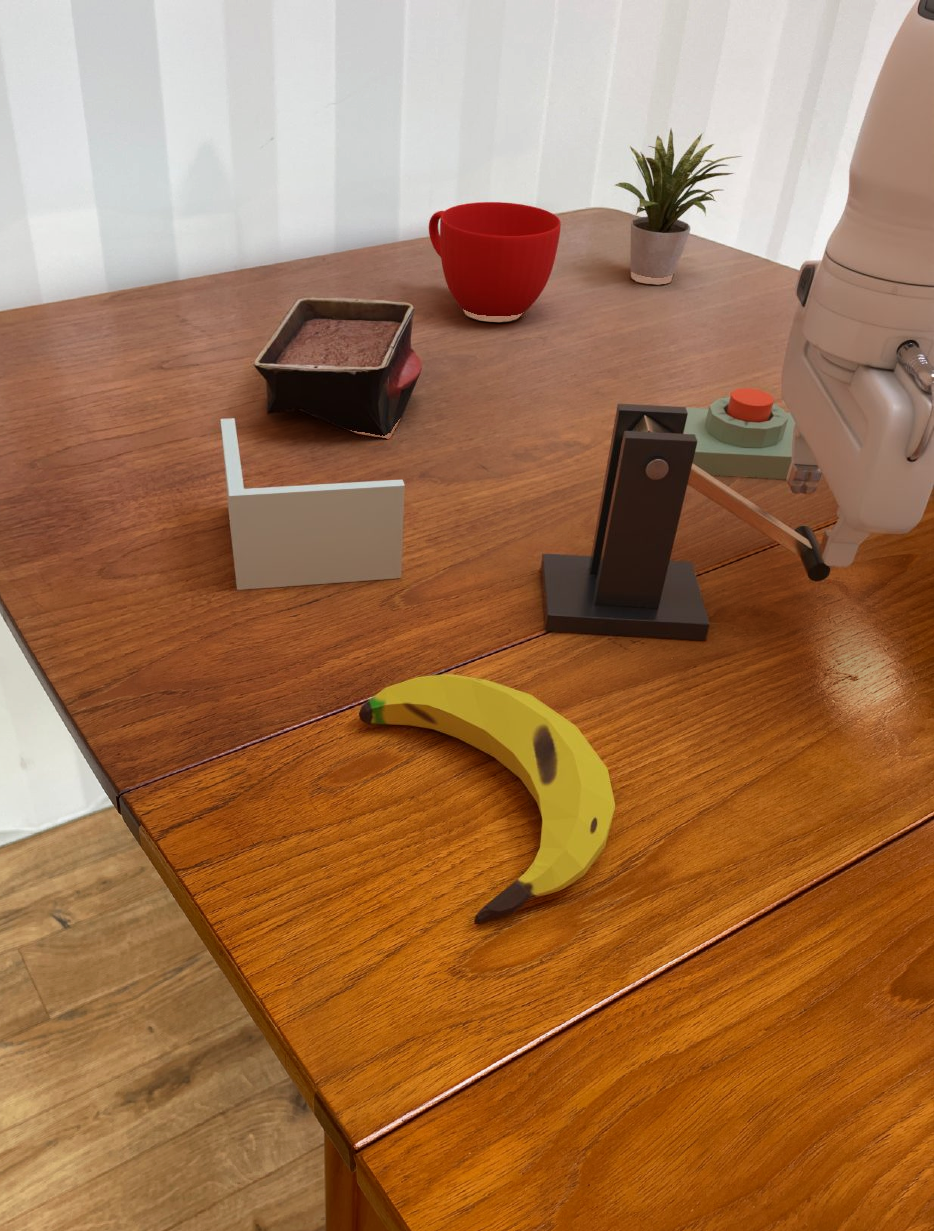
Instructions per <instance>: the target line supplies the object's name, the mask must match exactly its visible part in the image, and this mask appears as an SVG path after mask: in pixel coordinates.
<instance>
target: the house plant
mask: <svg viewBox="0 0 934 1231" xmlns="http://www.w3.org/2000/svg"><path fill="white" fill-rule="evenodd" d="M703 134H704V132H702V133H701V134H700V135H698V137H697V138H696V139H695V140H694V141H693V142H692V144H691V145H690V146H689V148H688V149H687V150H686V151H685V153H684V154H683V155H682V156H681V157H680V159H679V161H678V162H677V164H676V166H675V168H674V163H675V148H674V133H673V130H672V128H670V129H669V134H668V142H667V148H666V149H667V150H666V149H665V146H664V142H663V139H662V138H661V137H660V136H659V135H657V136H656V139H655V145H654V146H651V145H648V148H653V149H654V158H652V157H645V155H644V154H643V153H642V151H639V152H638V151H637V150H636V149H634V148H633V147H632V146H630V145H628V147H629V148H630V150H631V152H632V153H633V155H634V156H635V158H636V160H635V159H634V157H633V156H631V158H632V159H633V161H634V162H635V164H636V166H637V168H638V170H639V172H640V174H641V176H642V178H643V181H644V183H645V186H646V187H645V192H646V195H647V198H648V199H646V198H645V196H644V195H643V194H642V193H641V191H640V190H639V189H638V188H637V187H635V186H634V185H633V184H631V183H629V182H624V181H623V182H618V183H615V184H614V185H613V187H614V186H616V187H619V188H622V189H625V191H628V192H630V193H632V194H633V195H635V196H636V197H637V198H638V199H639V206H638V207H637V209H636V214H635V216H637V215H638V214H639V213H641V212H644V211H645V213H646V216H640V217H636V218H634V219H632V220H631V221H630V264H629V265H630V266H629V267H630V268H629V269H631V272H633V273H635V274H637V275H641V276H645V277H651V278H664V277H668V276H671V275H673V274H674V273H675V274H676V270H677V268H678V265H679V264H680V260H681V257H682V254H683V251H684V249H685V245H686V243H687V240H688V237H689V235H690V231H691V225H690V224H689V223H688V222H685V221H684V220H680V219H679V218H680V217H681V216H682V215H684V214H685V213H686V212H687V211H688V210H689V209H690V208H691V207H693V206H696V207H698V209H701V210H702V212H703V213H704V215H705V216H704V217H707V210H706V208H707V207H706V206H705V205H704V204H703V203H702V202H705V201H706V202H707V201H713V202H716V203H718V201H716V200H715V197H714V196H713V194H712V193H714V192H718V191H719V192H720V191H721V192H722V191H723V189H720V188H716V189H711V190H708V191H705V190H703V189H699V188H697V189H692V188H693V187H694V186H695V185H696V184H697V183H699V182H701V181H705V180H708V179H711V178H714V177H720V176H721V177H722V176H729V175H734V174H735V173H734V172H711V171H712V170H714V169H716V168H719V167H727V166H729V164H724V163H721V164H717V163H719V162H722V161H725V160H729V159H736V158H741V157H743V155H737V156H736V155H735V156H727V157H722V158H718V159H716V160H711V159H704V160H703V158H704V157H705V154H706V153H707V152H708V151H709V150H710V149H711V148H712V147H713V146H714V145H715V143H712V144H709V145H706V146H704V147H702V148H701V149H700V150H698V151H697V152H696V153H695V150H696V148H697V147H698V145H699V143H700V142H701V141H702V140H701V139H702V136H703ZM694 153H695V154H694ZM705 162H707V163H708V164H706V165H704V166H703V167H701V168H700V169H699V170H697V171H696V172H695V173H693V172H694V171H695V170H696V169H697V168H698V166H699V165H700V164H701V163H705ZM709 172H710V173H709ZM700 173H701V174H700ZM691 175H692V176H691ZM690 176H691V177H690ZM686 189H687V190H686ZM691 189H692V190H691ZM685 190H686V191H685ZM684 191H685V192H684ZM683 192H684V193H683ZM699 193H701V195H699V196H696V197H693V198H691V199H688V198H690V197H691V196H693V195H696V194H699ZM702 193H703V194H702ZM682 194H683V195H682ZM681 195H682V196H681ZM708 195H709V196H708ZM687 199H688V200H687ZM686 200H687V201H686ZM685 201H686V202H685ZM683 202H684V203H683ZM675 274H674V275H675Z"/></svg>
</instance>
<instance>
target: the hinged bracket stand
mask: <svg viewBox="0 0 934 1231" xmlns="http://www.w3.org/2000/svg"><path fill="white" fill-rule="evenodd" d="M644 415H645V416H647V417H648V418H650V419H651V420H653V421H654V422H656V423H657V424H659V425H660V426H662V427H663V428H665V429H666V430H668V431H669V432H671V433H657V432H638V431H632V430H633V429H634V427H635V426H636V425H637V424H638V423H639V421H640V420H641V419H642V418H643V417H644ZM687 415H688V413H687V410H686V406H671V405H653V404H652V405H651V404H634V403H633V404H632V403H617V406H616V412H615V416H614V423H613V428H612V433H611V439H610V446H609V451H608V457H607V461H606V462H607V463H606V468H605V472H604V473H605V474H604V479H603V485H602V491H601V497H600V502H599V508H598V514H597V519H596V525H595V531H594V535H593V541H592V546H591V553H590V555H578V554H577V555H576V554H559V553H542V555H541V561H540V570H539V571H540V580H541V592H542V605H543V616H544V618H543V619H544V629H545V632H550V633H551V632H554V633H567V634H569V633H570V634H584V635H585V634H588V635H602V636H603V635H606V636H620V637H637V638H638V637H640V638H653V639H672V640H688V641H706V640H707V637H708V633H709V630H710V626H711V623H710V619H709V616H708V613H707V609H706V606H705V602H704V599H703V595H702V591H701V589H700V585H699V581H698V578H697V575H696V570H695V567H694V563H693V562H692V561H684V560H683V561H682V560H671V557H672V553H673V549H674V548H673V547H674V544H675V541H676V540H675V539H676V535H677V532H678V527H679V523H680V518H681V514H682V511H683V506H684V501H685V497H686V493H687V488H688V486H689V485H688V480H689V476H690V472H691V468H692V463H693V459H694V455H695V450H696V446H697V439H696V436H695V434H683V433H684V429H685V424H686V420H687ZM621 443H622V446H621Z"/></svg>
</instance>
